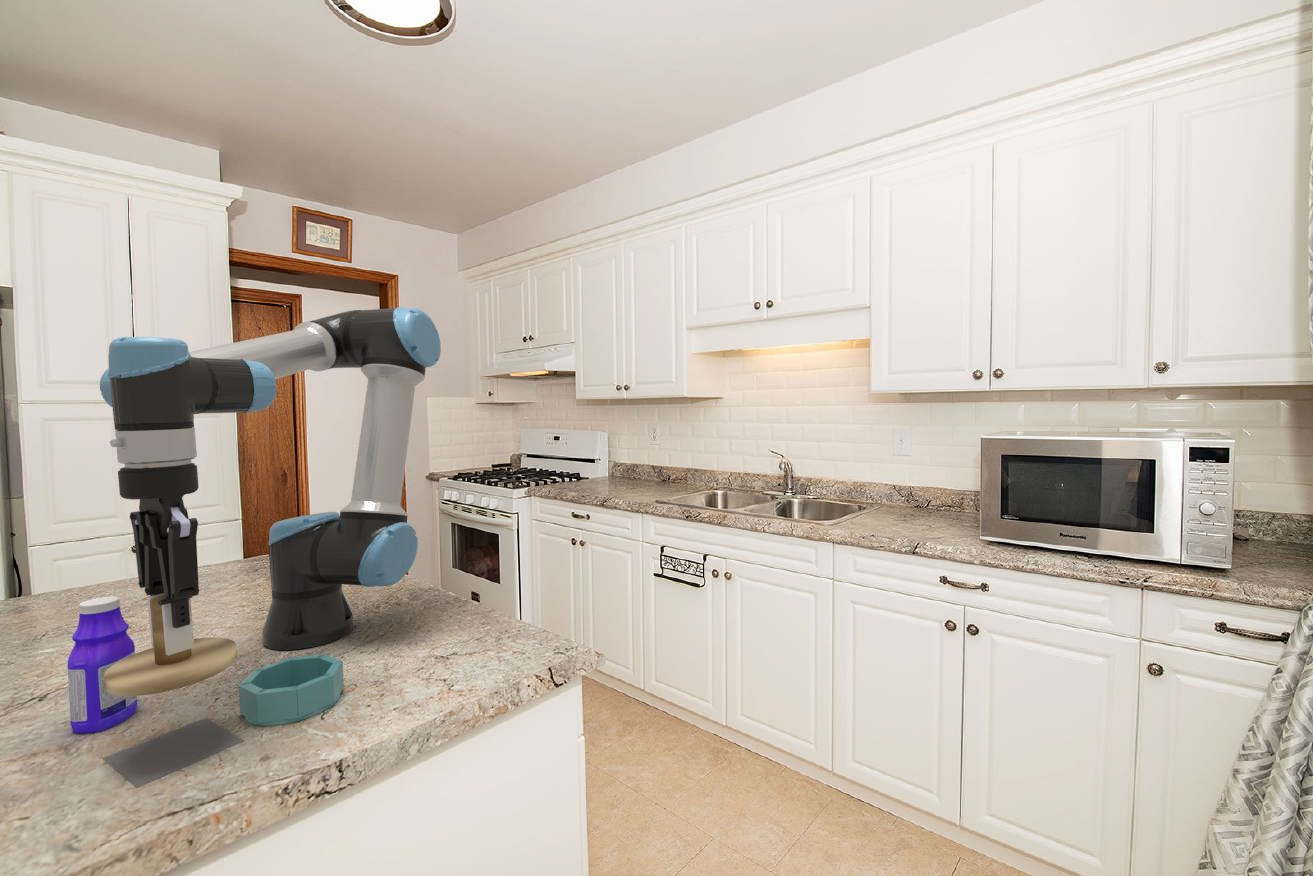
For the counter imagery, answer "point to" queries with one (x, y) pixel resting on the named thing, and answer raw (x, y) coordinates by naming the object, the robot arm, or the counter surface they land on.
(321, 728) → the counter surface
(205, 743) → the mat
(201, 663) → the lid
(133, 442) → the robot arm
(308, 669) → the bowl
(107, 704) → the bottle
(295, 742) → the counter surface
